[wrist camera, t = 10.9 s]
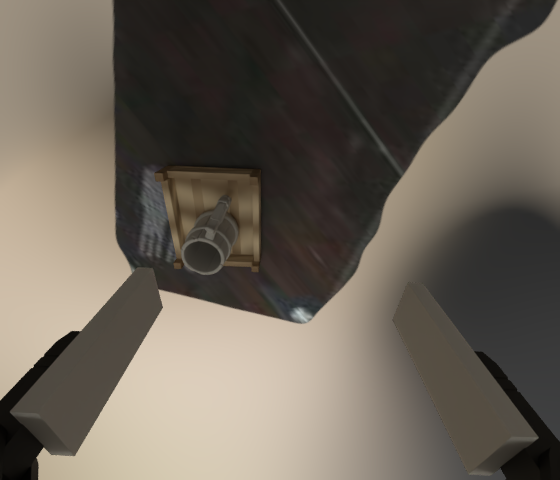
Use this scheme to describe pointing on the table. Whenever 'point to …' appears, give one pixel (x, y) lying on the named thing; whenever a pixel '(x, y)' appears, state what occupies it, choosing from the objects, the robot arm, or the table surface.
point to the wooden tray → (204, 196)
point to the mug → (210, 239)
